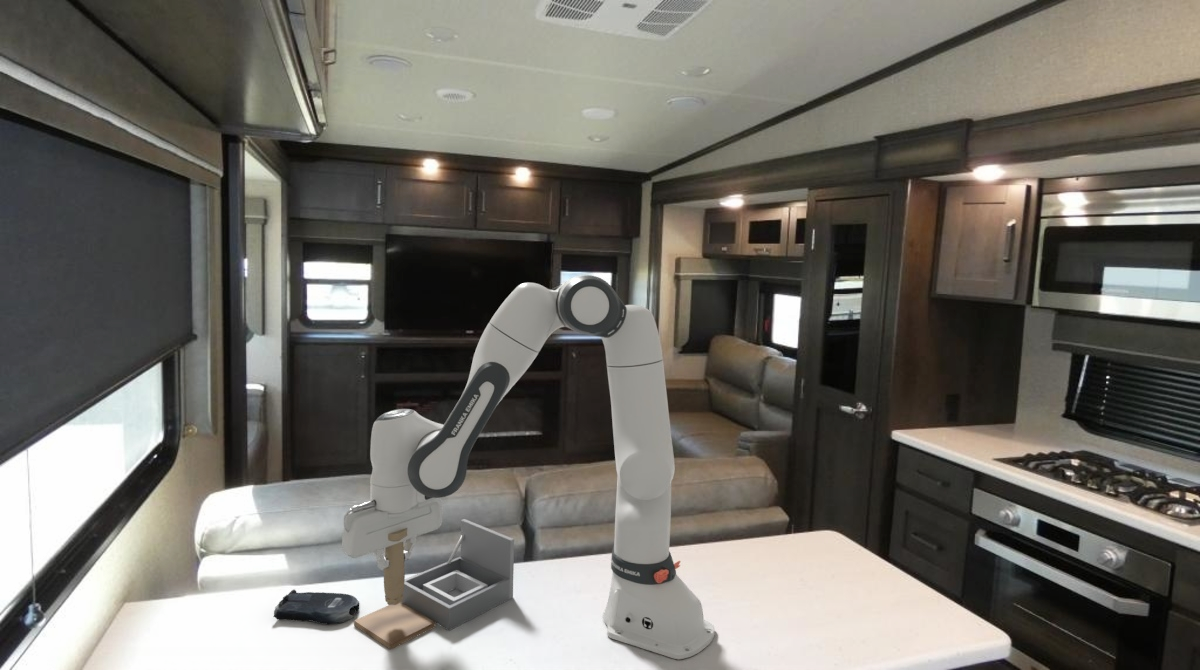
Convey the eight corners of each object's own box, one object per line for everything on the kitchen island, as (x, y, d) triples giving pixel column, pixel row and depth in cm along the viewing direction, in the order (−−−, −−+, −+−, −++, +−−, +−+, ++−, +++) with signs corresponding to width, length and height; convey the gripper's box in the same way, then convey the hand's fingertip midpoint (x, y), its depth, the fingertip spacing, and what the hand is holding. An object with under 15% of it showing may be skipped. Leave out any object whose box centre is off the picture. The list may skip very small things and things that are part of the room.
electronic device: (272, 633, 127) (348, 626, 127) (269, 604, 128) (345, 597, 127) (295, 614, 137) (367, 607, 136) (293, 587, 137) (364, 580, 136)
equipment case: (512, 597, 141) (514, 539, 139) (449, 630, 127) (449, 566, 126) (463, 573, 150) (464, 518, 149) (399, 602, 137) (399, 542, 136)
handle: (376, 610, 124) (376, 533, 123) (386, 593, 131) (386, 520, 129) (402, 610, 125) (402, 534, 123) (410, 593, 131) (411, 521, 129)
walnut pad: (435, 626, 128) (435, 622, 128) (390, 649, 121) (390, 644, 120) (398, 605, 136) (398, 600, 136) (354, 625, 128) (354, 620, 128)
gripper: (353, 513, 115) (354, 588, 117) (447, 485, 131) (446, 552, 133) (334, 504, 119) (335, 577, 121) (428, 478, 135) (427, 542, 137)
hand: (394, 563), depth 127 cm, fingers closed on handle, 3 cm apart
